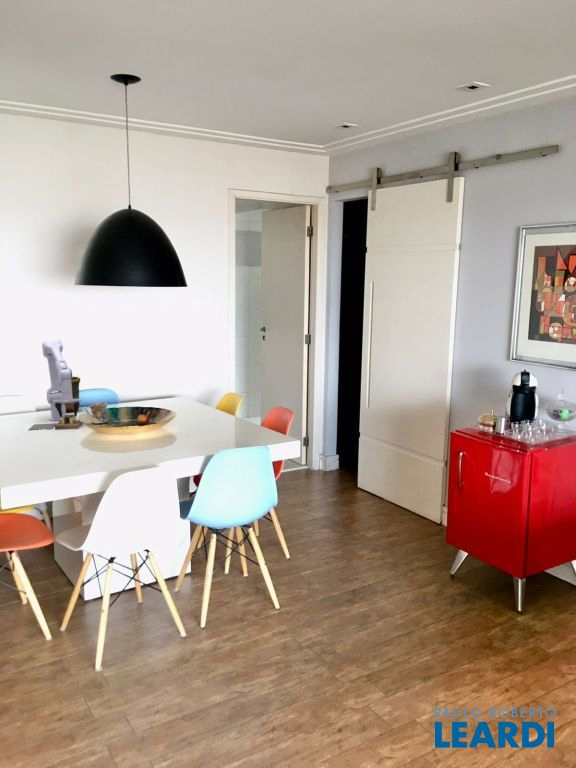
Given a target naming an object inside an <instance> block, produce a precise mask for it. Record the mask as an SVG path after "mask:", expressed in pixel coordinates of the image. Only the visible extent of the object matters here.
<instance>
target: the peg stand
mask: <svg viewBox="0 0 576 768" xmlns="http://www.w3.org/2000/svg"><path fill="white" fill-rule="evenodd" d="M80 420H81V419H76V421H75V422H74V423H73V424H70V417H67V423H66V424H65V425H62V420H58V422H57V424H56V425H55V427H54V429H55V431H57V430H75V429H76V430H78V429H79V428H80V427H81V426H82V425H83V424H84V422H83V423H82V422H81V421H80Z"/></svg>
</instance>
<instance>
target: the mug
mask: <svg viewBox="0 0 576 768" xmlns="http://www.w3.org/2000/svg"><path fill="white" fill-rule="evenodd" d="M107 406H108V402H103V401H102V402H93V403H91V404H89V406H86V407H85V412H86V413H87V414H88V416H90V417H91V418H92V417H93V418H96V419H98V420H100V421H104V422H106V421H108V422H109V420H108V418H107V415H106V412H107V411H106V410H107ZM88 408H90V409H91V411H92V413H91V414H90V412H89V411H88ZM93 418H92V419H93ZM106 423H107V422H106Z"/></svg>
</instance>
